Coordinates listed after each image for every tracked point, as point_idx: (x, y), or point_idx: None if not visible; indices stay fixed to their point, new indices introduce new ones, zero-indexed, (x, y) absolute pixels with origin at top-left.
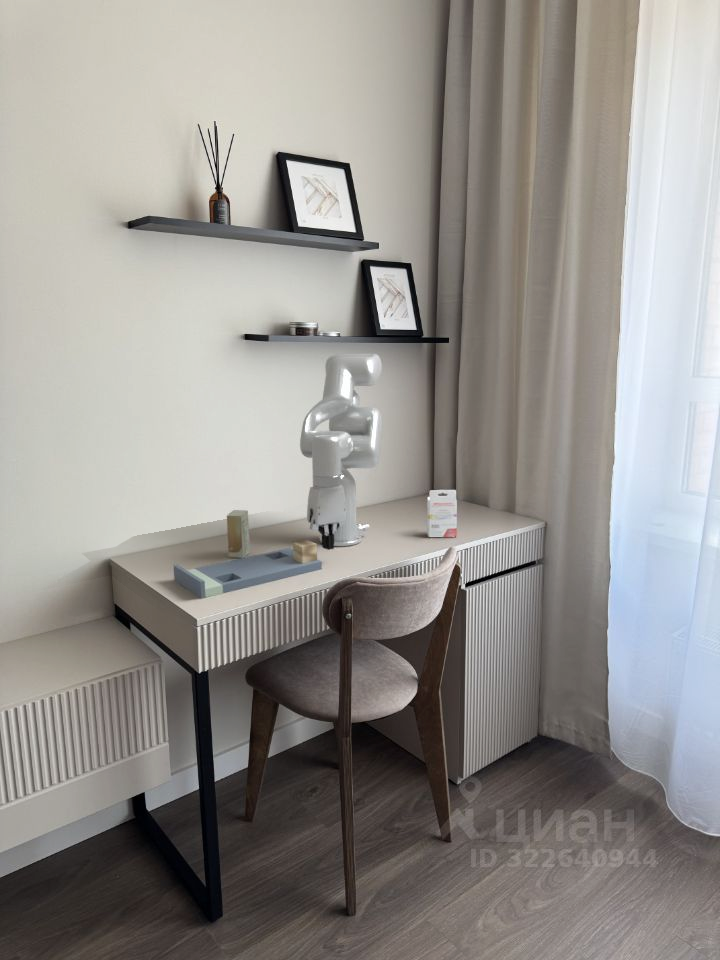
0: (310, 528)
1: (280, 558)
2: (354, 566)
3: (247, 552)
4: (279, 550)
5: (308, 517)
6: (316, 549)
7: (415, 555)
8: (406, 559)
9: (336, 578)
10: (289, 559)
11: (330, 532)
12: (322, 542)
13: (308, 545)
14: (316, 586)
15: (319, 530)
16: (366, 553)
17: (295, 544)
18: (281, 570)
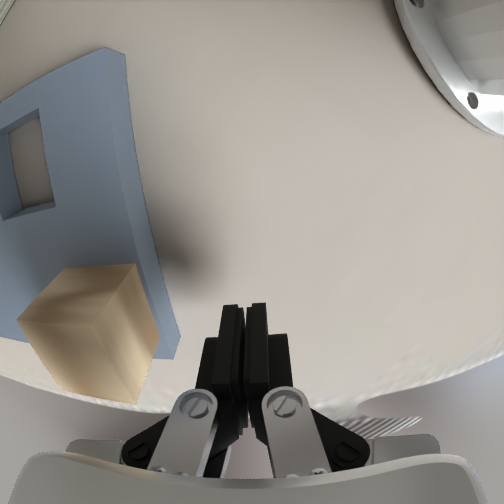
0: (73, 446)
1: (22, 222)
2: (309, 369)
3: (5, 9)
4: (44, 83)
5: (30, 500)
6: (143, 377)
7: (493, 350)
8: (459, 369)
9: None
10: (50, 257)
11: (256, 437)
12: (205, 354)
13: (90, 395)
14: (125, 409)
15: (158, 439)
16: (456, 268)
17: (30, 341)
18: None
